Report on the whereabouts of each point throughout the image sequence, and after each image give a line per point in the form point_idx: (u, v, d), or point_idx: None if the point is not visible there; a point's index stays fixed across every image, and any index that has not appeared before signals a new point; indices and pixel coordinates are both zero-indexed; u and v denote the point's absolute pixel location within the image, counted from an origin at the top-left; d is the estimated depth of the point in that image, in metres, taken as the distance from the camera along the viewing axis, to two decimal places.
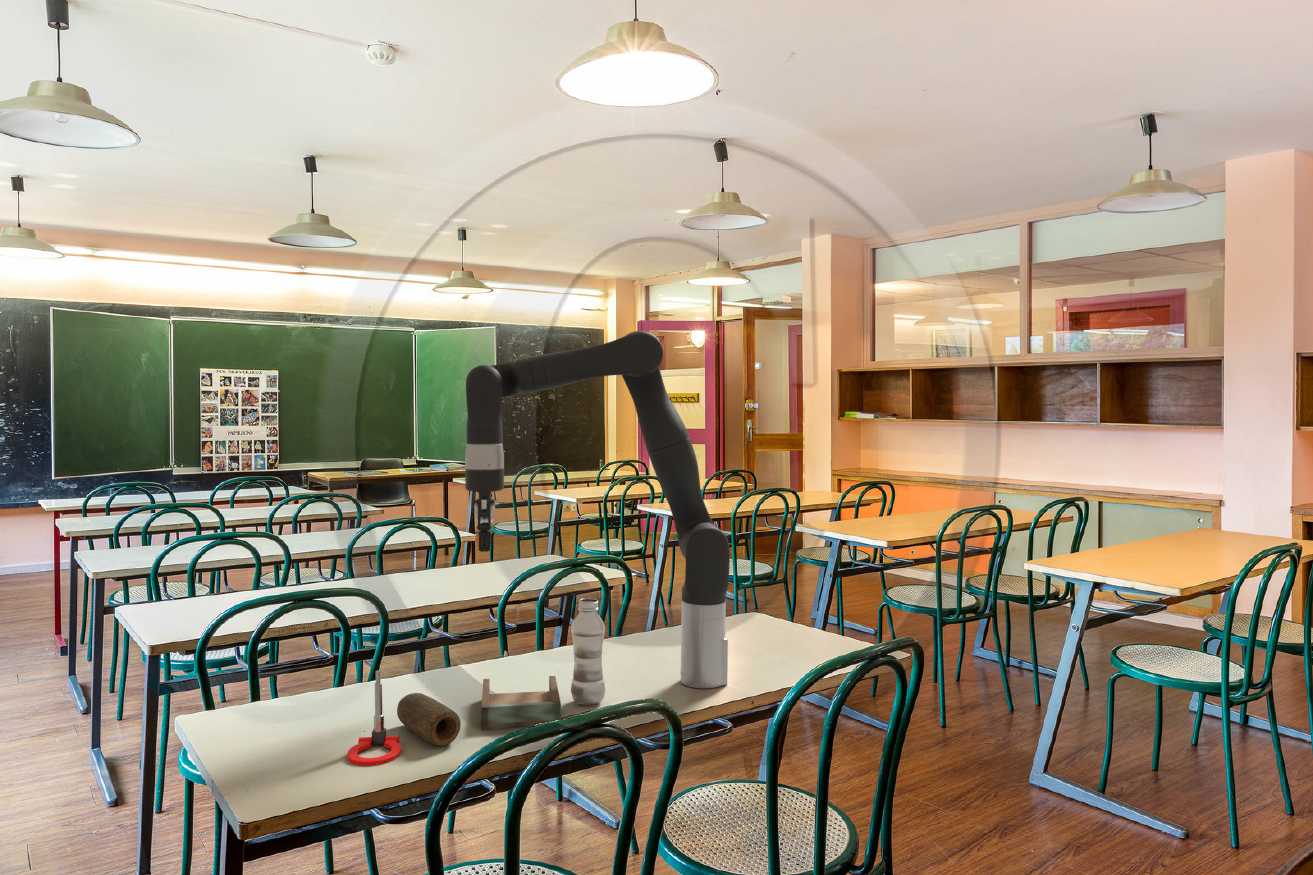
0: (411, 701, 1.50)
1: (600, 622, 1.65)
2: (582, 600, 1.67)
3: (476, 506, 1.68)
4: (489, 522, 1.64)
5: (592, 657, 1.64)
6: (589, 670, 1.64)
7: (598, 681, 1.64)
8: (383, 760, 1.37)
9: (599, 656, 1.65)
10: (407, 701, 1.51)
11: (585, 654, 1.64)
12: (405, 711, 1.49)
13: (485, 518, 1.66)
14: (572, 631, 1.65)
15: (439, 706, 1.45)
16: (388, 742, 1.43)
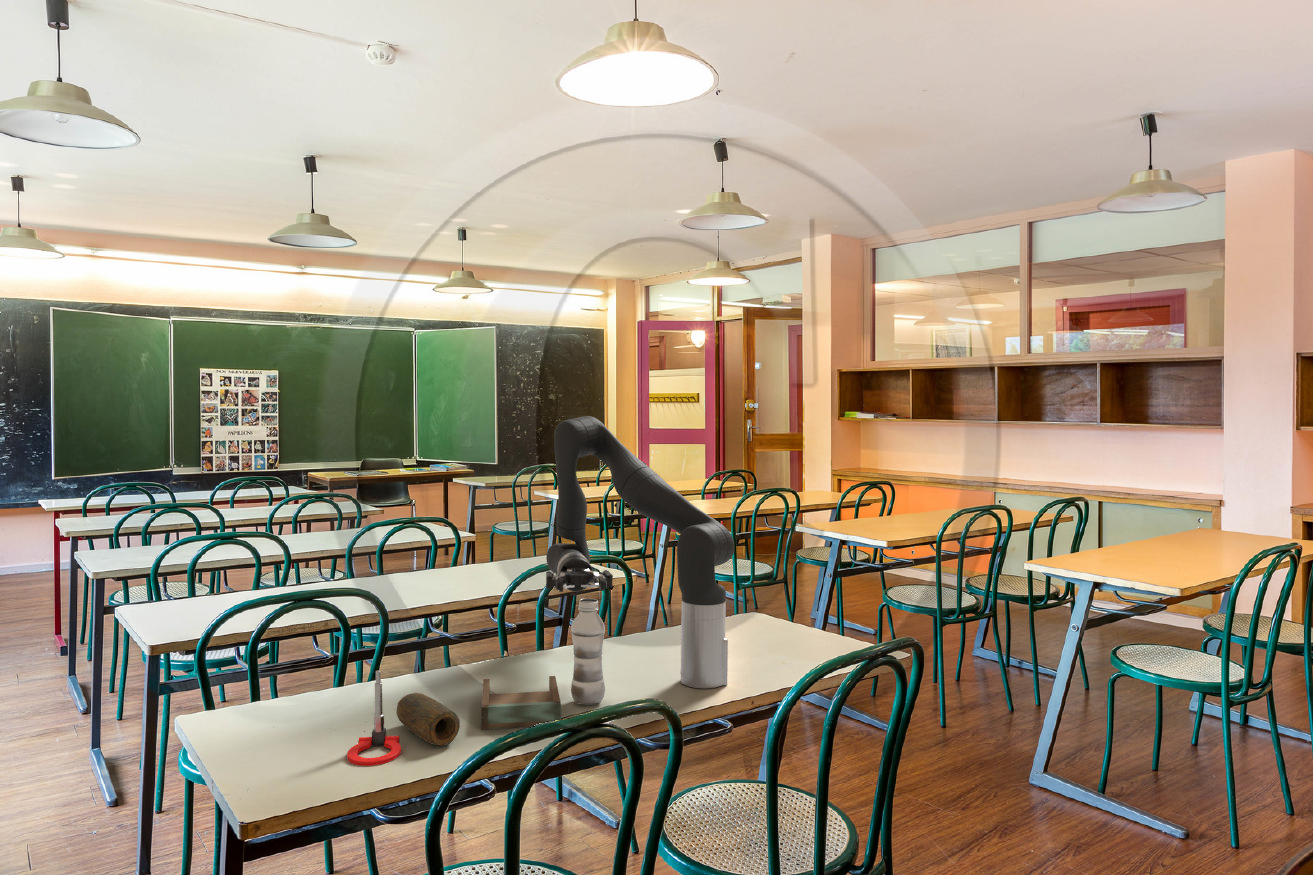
0: (411, 701, 1.50)
1: (600, 622, 1.65)
2: (582, 600, 1.67)
3: None
4: (546, 576, 1.83)
5: (592, 657, 1.64)
6: (589, 670, 1.64)
7: (598, 681, 1.64)
8: (383, 760, 1.37)
9: (599, 656, 1.65)
10: (407, 701, 1.51)
11: (585, 654, 1.64)
12: (405, 711, 1.49)
13: None
14: (572, 631, 1.65)
15: (438, 706, 1.45)
16: (388, 742, 1.43)
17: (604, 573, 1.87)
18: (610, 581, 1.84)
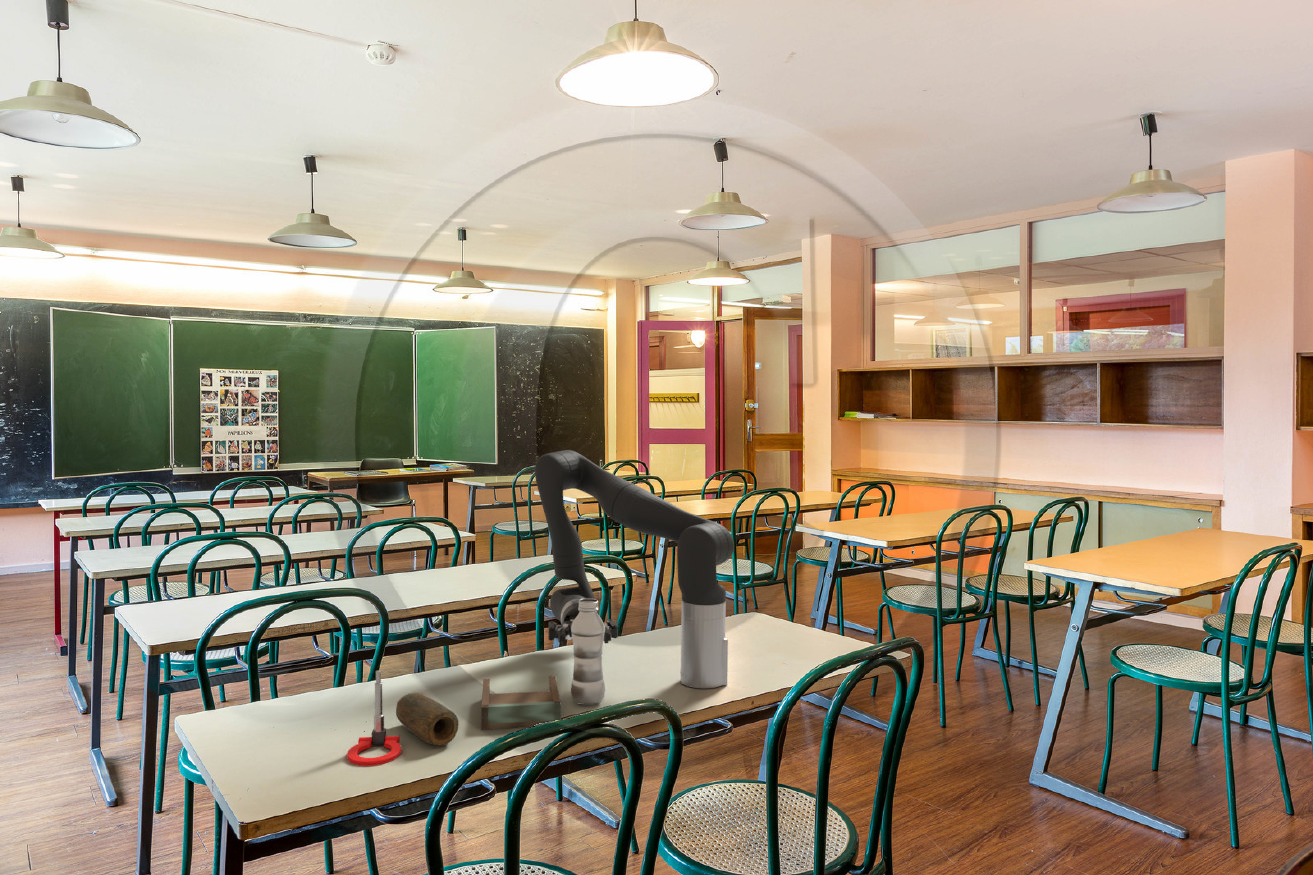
0: (410, 701, 1.50)
1: (600, 622, 1.65)
2: (582, 600, 1.67)
3: None
4: None
5: (592, 657, 1.64)
6: (589, 670, 1.64)
7: (598, 681, 1.64)
8: (383, 760, 1.37)
9: (599, 656, 1.65)
10: (406, 701, 1.51)
11: (585, 654, 1.64)
12: (404, 711, 1.49)
13: None
14: (572, 631, 1.65)
15: (437, 706, 1.45)
16: (388, 742, 1.43)
17: (609, 623, 1.80)
18: (615, 632, 1.77)
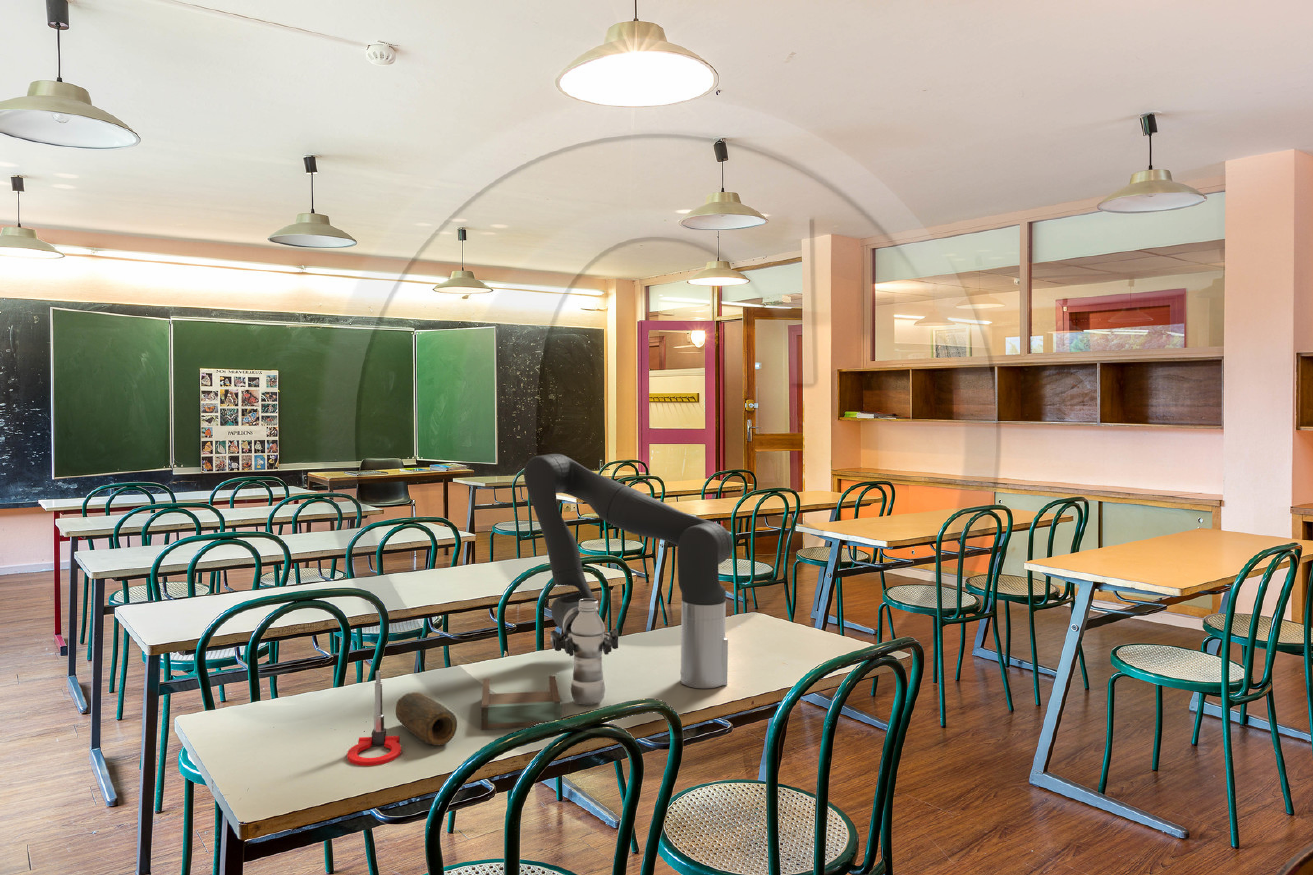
0: (409, 700, 1.50)
1: (600, 622, 1.65)
2: (582, 600, 1.67)
3: None
4: (554, 637, 1.68)
5: (592, 657, 1.64)
6: (589, 670, 1.64)
7: (598, 681, 1.64)
8: (383, 760, 1.37)
9: (599, 656, 1.65)
10: (405, 700, 1.51)
11: (585, 654, 1.64)
12: (403, 711, 1.49)
13: None
14: (572, 631, 1.65)
15: (436, 706, 1.45)
16: (388, 742, 1.43)
17: (612, 632, 1.73)
18: (615, 642, 1.69)
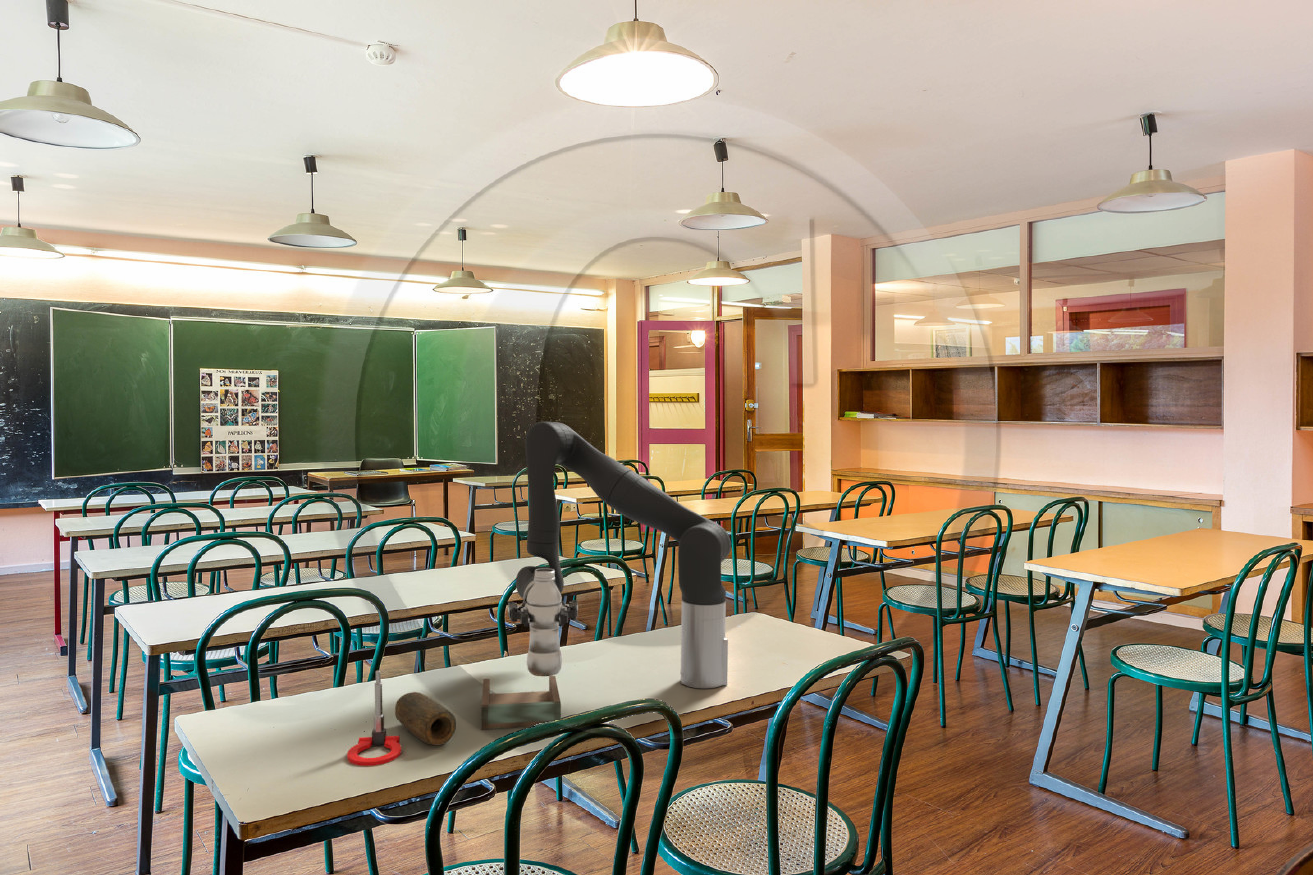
0: (408, 700, 1.50)
1: (556, 592, 1.60)
2: (538, 570, 1.62)
3: None
4: (510, 608, 1.64)
5: (548, 628, 1.59)
6: (544, 641, 1.59)
7: (554, 653, 1.60)
8: (383, 760, 1.37)
9: (555, 627, 1.60)
10: (405, 700, 1.51)
11: (540, 625, 1.59)
12: (402, 710, 1.49)
13: None
14: (527, 601, 1.60)
15: (434, 706, 1.45)
16: (388, 742, 1.43)
17: (571, 604, 1.68)
18: (573, 613, 1.65)
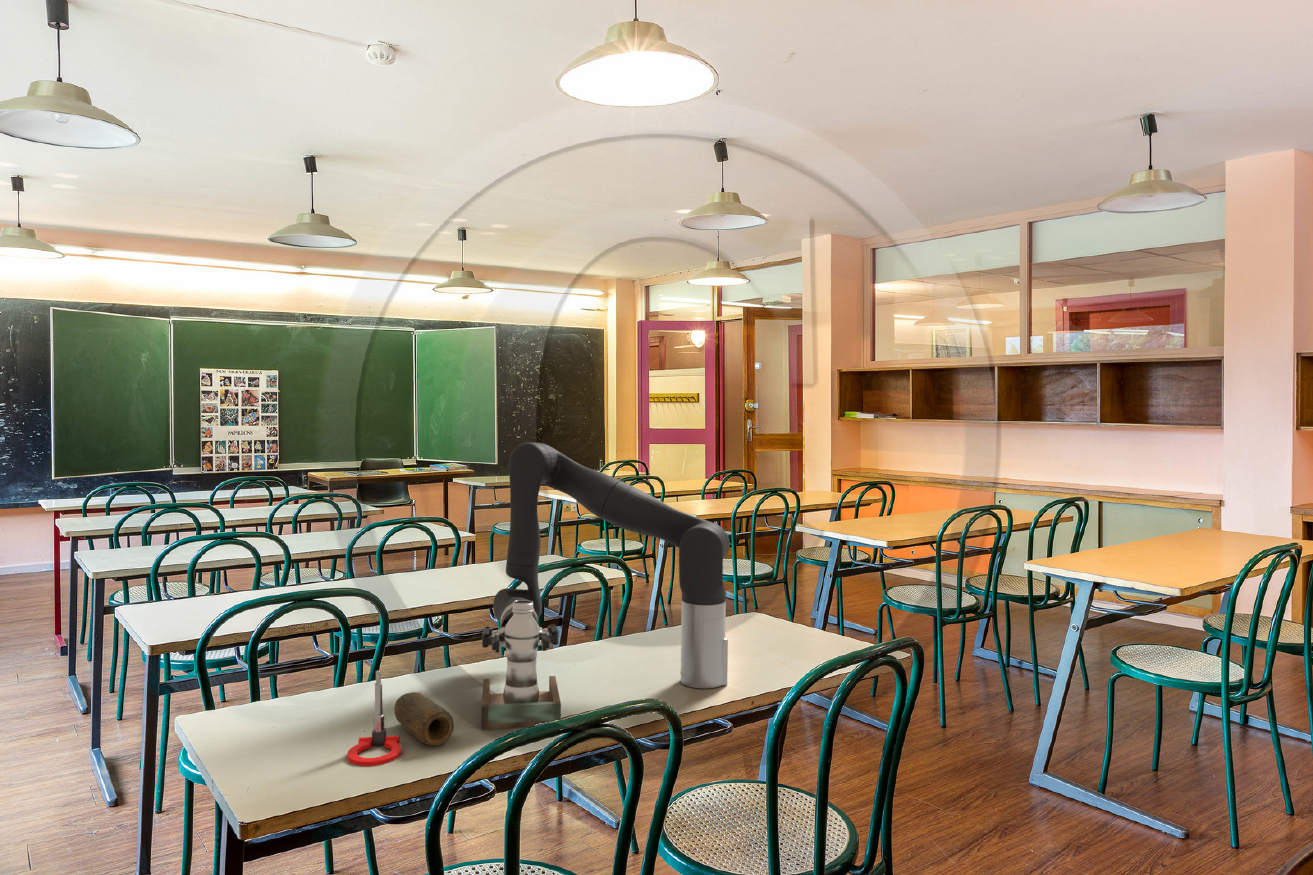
0: (407, 700, 1.50)
1: (534, 624, 1.58)
2: (517, 601, 1.60)
3: None
4: None
5: (525, 661, 1.57)
6: (522, 675, 1.57)
7: (531, 687, 1.57)
8: (383, 760, 1.37)
9: (533, 660, 1.58)
10: (404, 700, 1.51)
11: (517, 658, 1.57)
12: (401, 710, 1.50)
13: None
14: (505, 634, 1.58)
15: (433, 706, 1.45)
16: (388, 742, 1.43)
17: (550, 628, 1.66)
18: (555, 638, 1.62)
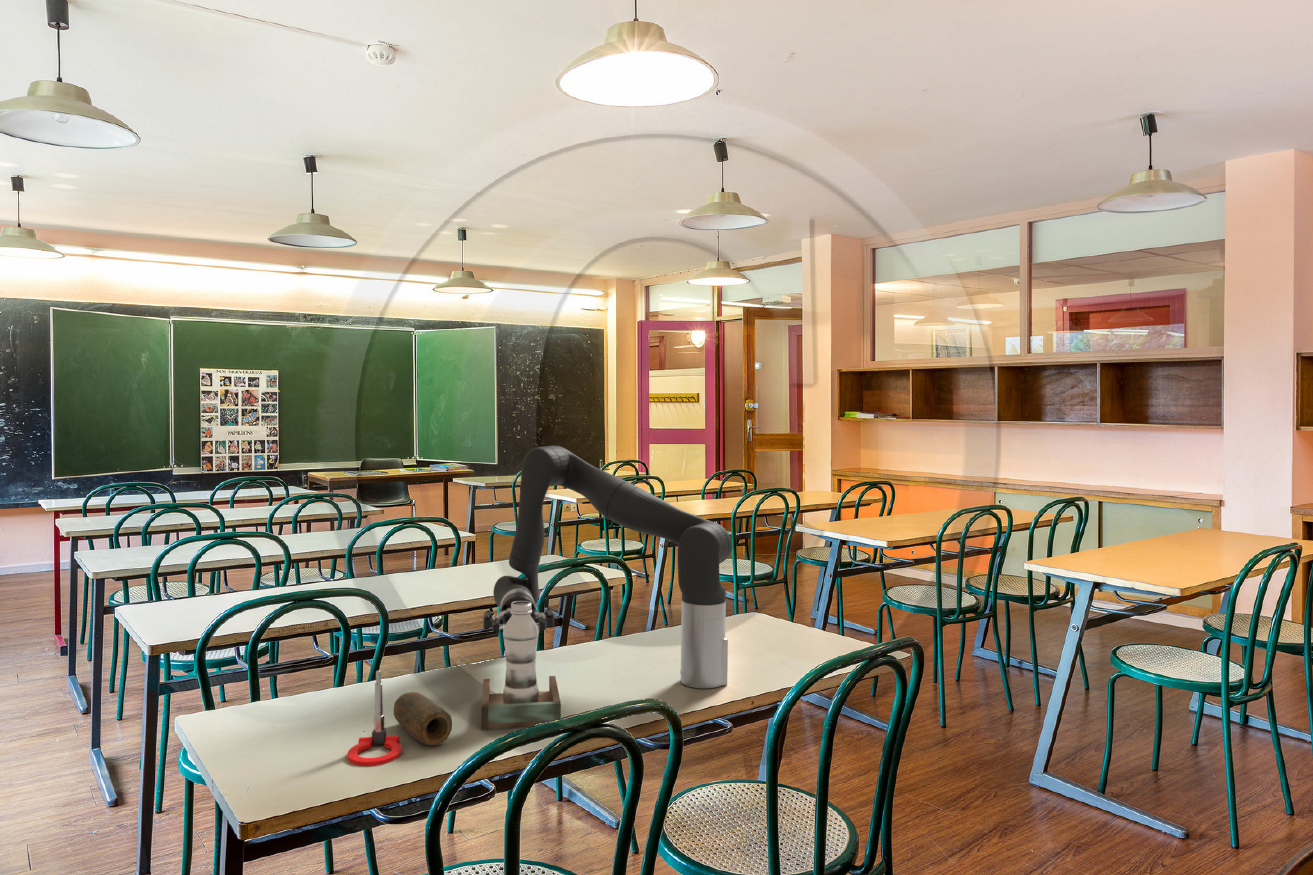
0: (406, 700, 1.50)
1: (533, 625, 1.58)
2: (515, 602, 1.60)
3: None
4: None
5: (524, 662, 1.57)
6: (521, 676, 1.57)
7: (530, 687, 1.57)
8: (383, 760, 1.37)
9: (532, 661, 1.58)
10: (403, 700, 1.51)
11: (516, 659, 1.56)
12: (400, 710, 1.50)
13: None
14: (504, 635, 1.57)
15: (431, 706, 1.45)
16: (388, 742, 1.43)
17: (546, 612, 1.78)
18: (551, 621, 1.75)
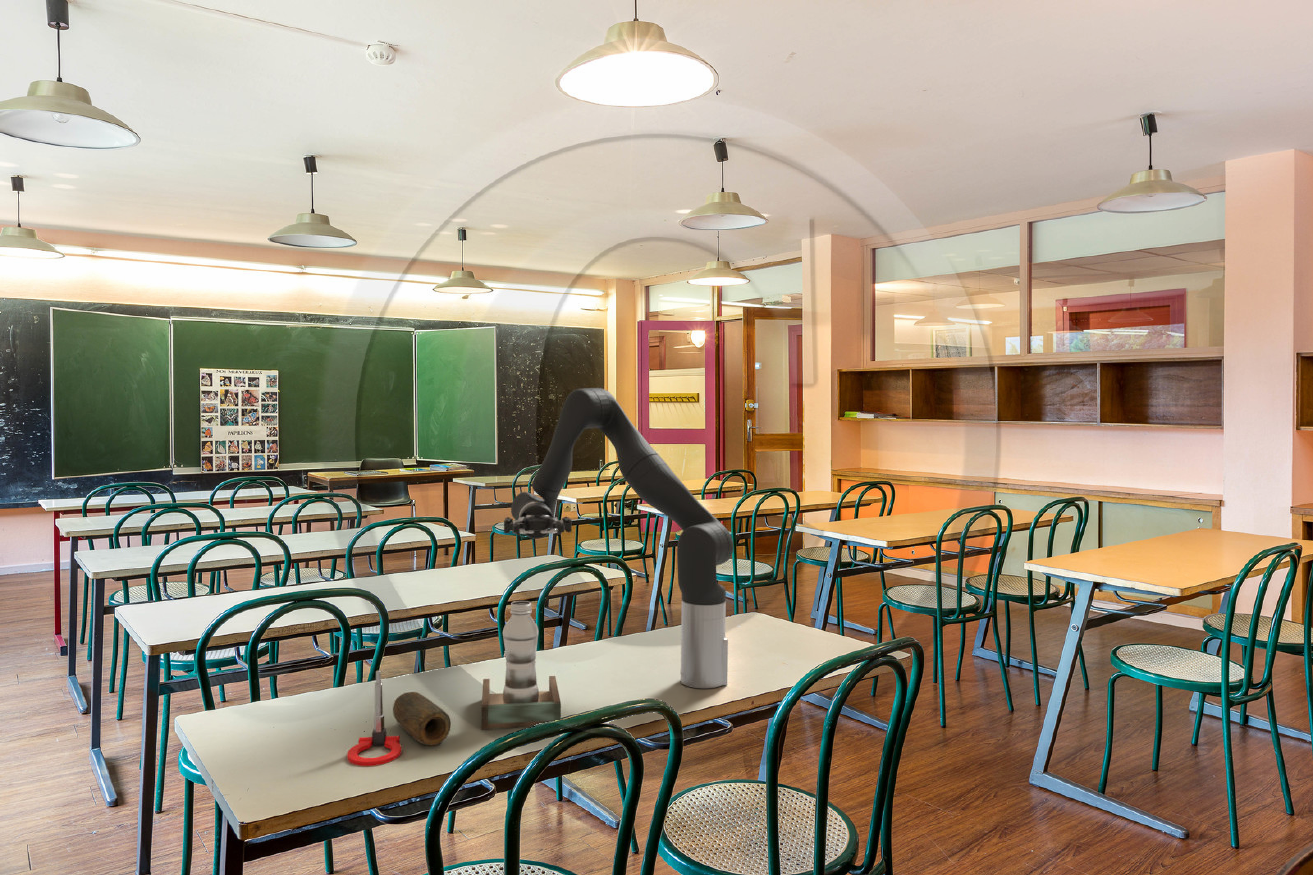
0: (405, 700, 1.50)
1: (533, 625, 1.58)
2: (515, 602, 1.60)
3: None
4: (504, 521, 1.81)
5: (524, 662, 1.57)
6: (521, 676, 1.57)
7: (530, 687, 1.57)
8: (383, 760, 1.37)
9: (532, 661, 1.58)
10: (402, 700, 1.51)
11: (516, 659, 1.56)
12: (399, 710, 1.50)
13: None
14: (503, 635, 1.57)
15: (429, 706, 1.45)
16: (389, 742, 1.43)
17: (564, 519, 1.86)
18: (569, 526, 1.82)
